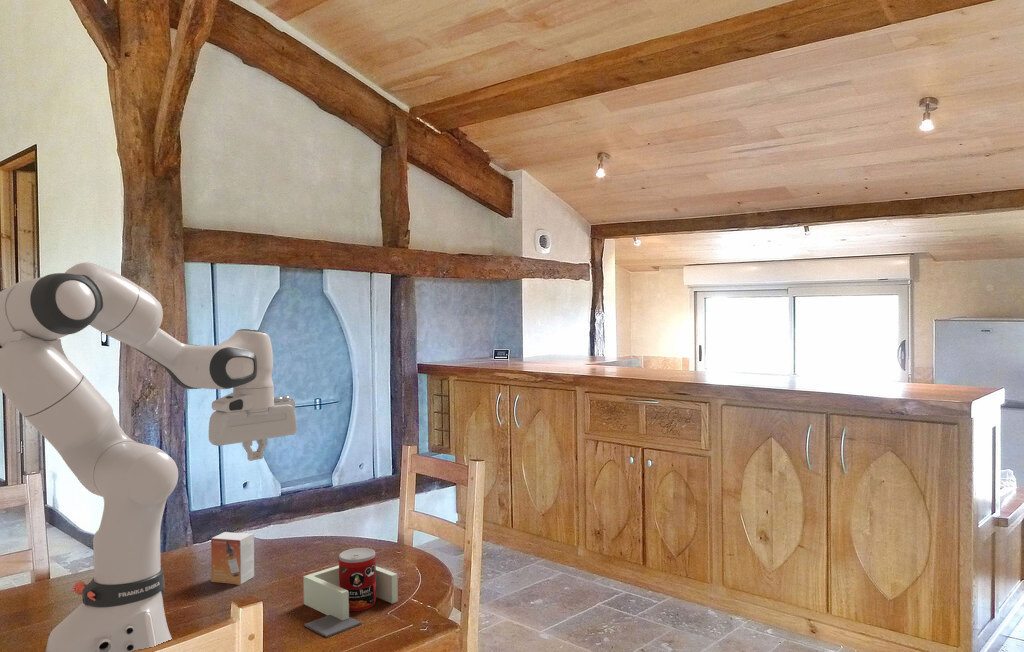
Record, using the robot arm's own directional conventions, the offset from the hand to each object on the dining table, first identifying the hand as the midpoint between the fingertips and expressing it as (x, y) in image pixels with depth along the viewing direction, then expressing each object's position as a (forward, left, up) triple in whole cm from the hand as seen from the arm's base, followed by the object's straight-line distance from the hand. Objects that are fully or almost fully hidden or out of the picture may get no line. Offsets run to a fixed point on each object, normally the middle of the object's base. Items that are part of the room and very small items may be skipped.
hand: (255, 459), depth 167 cm
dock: (+8, -26, -29) cm, 40 cm away
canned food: (+8, -27, -29) cm, 41 cm away
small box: (-2, +8, -29) cm, 31 cm away
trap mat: (-1, -32, -29) cm, 43 cm away
